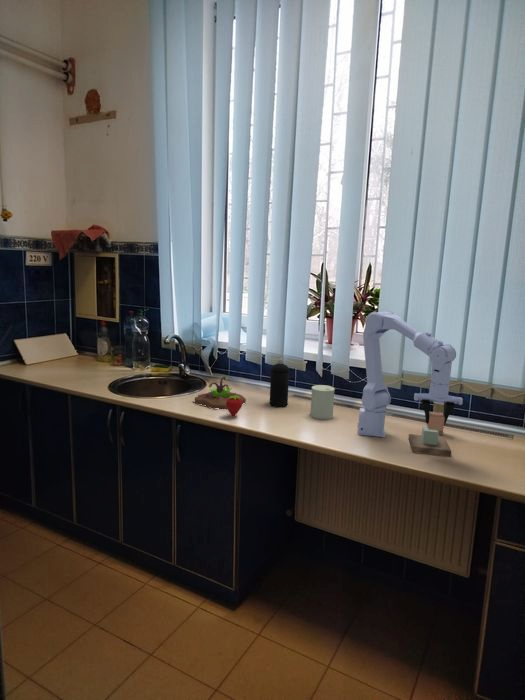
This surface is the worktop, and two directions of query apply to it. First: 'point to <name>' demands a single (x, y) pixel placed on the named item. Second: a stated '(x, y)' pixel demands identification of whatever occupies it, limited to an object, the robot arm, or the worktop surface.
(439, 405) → the sprinkles bottle
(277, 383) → the aerosol can
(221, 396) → the plant
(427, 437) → the sage cube
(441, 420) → the terracotta cube
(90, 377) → the worktop surface
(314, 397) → the can
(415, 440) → the walnut base
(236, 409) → the strawberry
